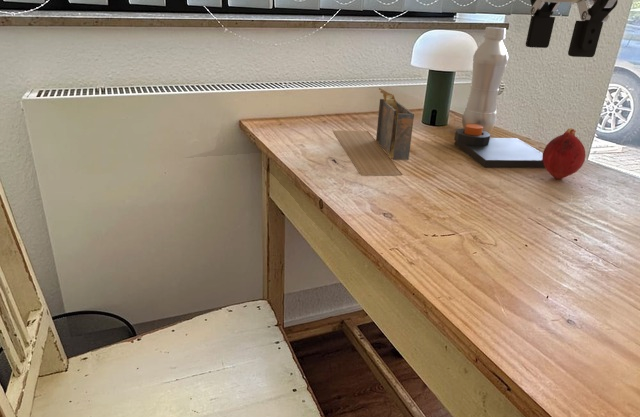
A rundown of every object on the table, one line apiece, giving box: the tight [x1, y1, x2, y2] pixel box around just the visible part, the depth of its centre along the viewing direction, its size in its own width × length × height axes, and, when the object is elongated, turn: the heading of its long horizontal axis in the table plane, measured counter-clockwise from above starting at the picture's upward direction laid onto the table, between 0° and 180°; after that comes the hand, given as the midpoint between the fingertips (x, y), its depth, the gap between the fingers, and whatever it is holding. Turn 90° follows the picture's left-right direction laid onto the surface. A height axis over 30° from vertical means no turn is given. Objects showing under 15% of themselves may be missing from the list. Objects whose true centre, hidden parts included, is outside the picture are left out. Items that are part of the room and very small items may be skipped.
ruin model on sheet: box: [332, 87, 415, 176], centre depth 84 cm, size 25×16×10 cm, turn 8°
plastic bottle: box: [461, 26, 509, 134], centre depth 95 cm, size 6×7×20 cm
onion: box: [542, 127, 586, 180], centre depth 74 cm, size 6×6×8 cm
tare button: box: [464, 124, 483, 136], centre depth 87 cm, size 3×3×2 cm
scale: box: [453, 127, 546, 169], centre depth 85 cm, size 13×14×3 cm
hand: (557, 51), depth 64 cm, fingers open, 9 cm apart
